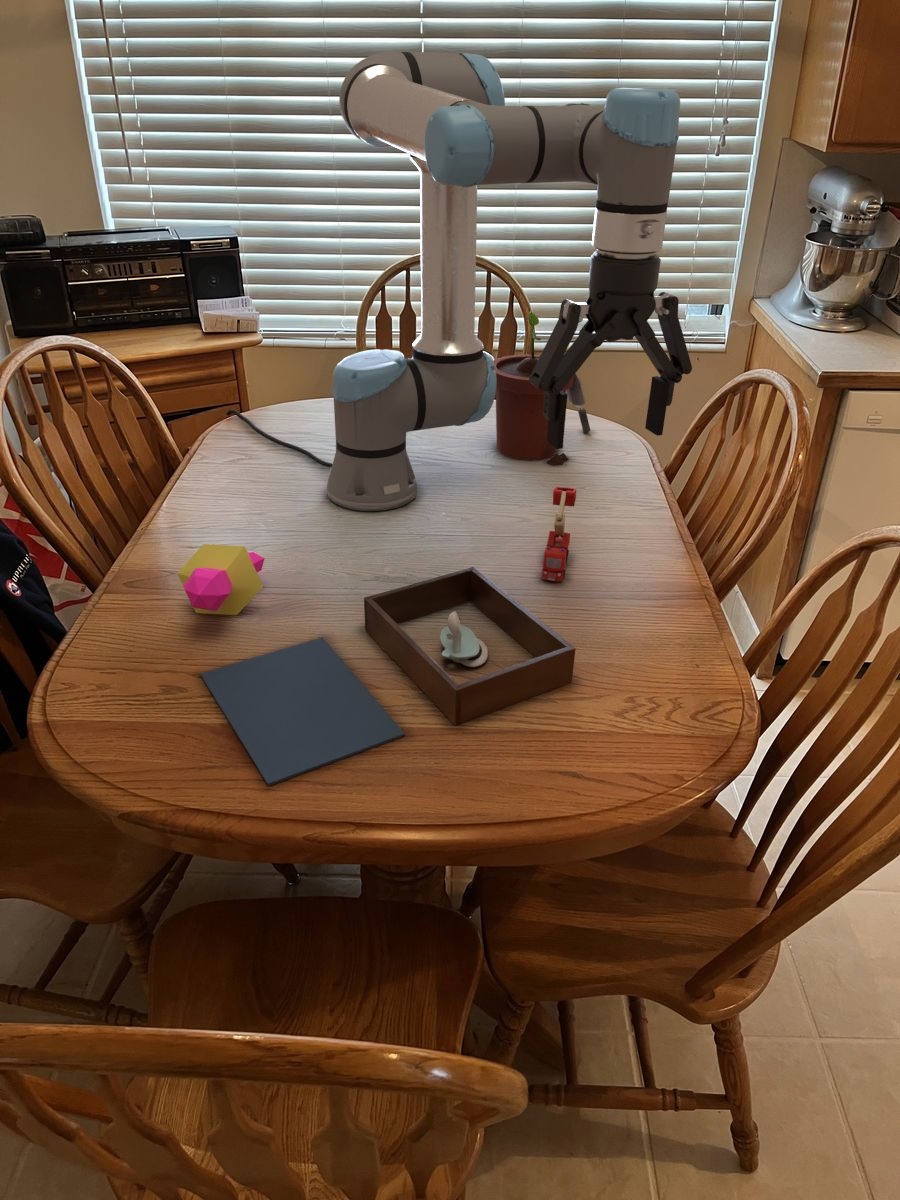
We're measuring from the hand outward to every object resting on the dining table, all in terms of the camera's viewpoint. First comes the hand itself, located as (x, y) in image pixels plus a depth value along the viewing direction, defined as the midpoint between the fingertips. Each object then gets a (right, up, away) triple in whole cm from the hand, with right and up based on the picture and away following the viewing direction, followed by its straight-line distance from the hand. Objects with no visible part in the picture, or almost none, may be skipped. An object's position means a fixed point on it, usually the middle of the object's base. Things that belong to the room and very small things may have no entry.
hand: (605, 438), depth 108 cm
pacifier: (-17, -27, +5) cm, 32 cm away
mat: (-36, -32, -4) cm, 48 cm away
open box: (-17, -26, +5) cm, 32 cm away
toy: (-49, -20, +14) cm, 55 cm away
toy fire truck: (-3, -14, +26) cm, 30 cm away
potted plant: (-1, +10, +65) cm, 66 cm away
